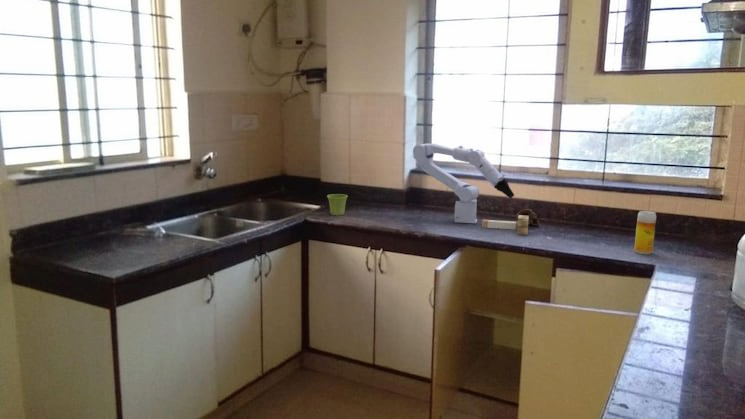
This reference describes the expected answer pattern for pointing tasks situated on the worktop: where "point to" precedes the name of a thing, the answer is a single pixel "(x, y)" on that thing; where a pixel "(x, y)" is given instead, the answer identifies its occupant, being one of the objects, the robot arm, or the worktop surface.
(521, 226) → the tan wooden brick
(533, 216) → the pottery mug
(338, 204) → the plant pot
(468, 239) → the worktop surface
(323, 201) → the worktop surface
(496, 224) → the white bar
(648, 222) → the pill bottle
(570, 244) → the worktop surface
